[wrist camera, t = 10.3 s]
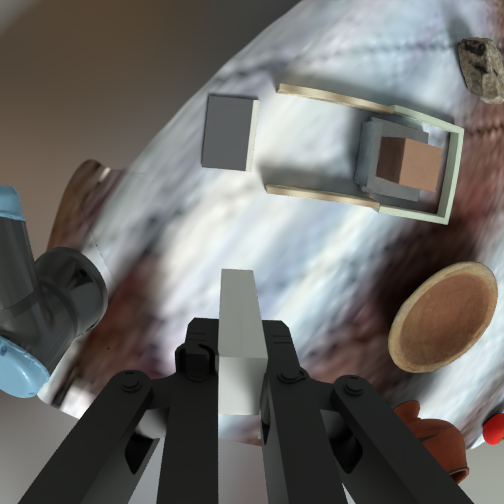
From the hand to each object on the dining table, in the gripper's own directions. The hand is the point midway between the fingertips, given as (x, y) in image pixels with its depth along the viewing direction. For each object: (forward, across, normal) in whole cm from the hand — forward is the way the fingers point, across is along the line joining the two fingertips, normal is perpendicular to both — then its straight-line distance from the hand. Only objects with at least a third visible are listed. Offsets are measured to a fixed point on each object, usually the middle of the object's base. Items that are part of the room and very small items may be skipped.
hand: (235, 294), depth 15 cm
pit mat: (+30, -1, +8) cm, 31 cm away
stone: (+29, +42, +26) cm, 57 cm away
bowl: (+29, +38, -17) cm, 51 cm away
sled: (+29, +24, +8) cm, 38 cm away
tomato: (+28, +93, -65) cm, 117 cm away
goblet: (+29, +44, -48) cm, 72 cm away
